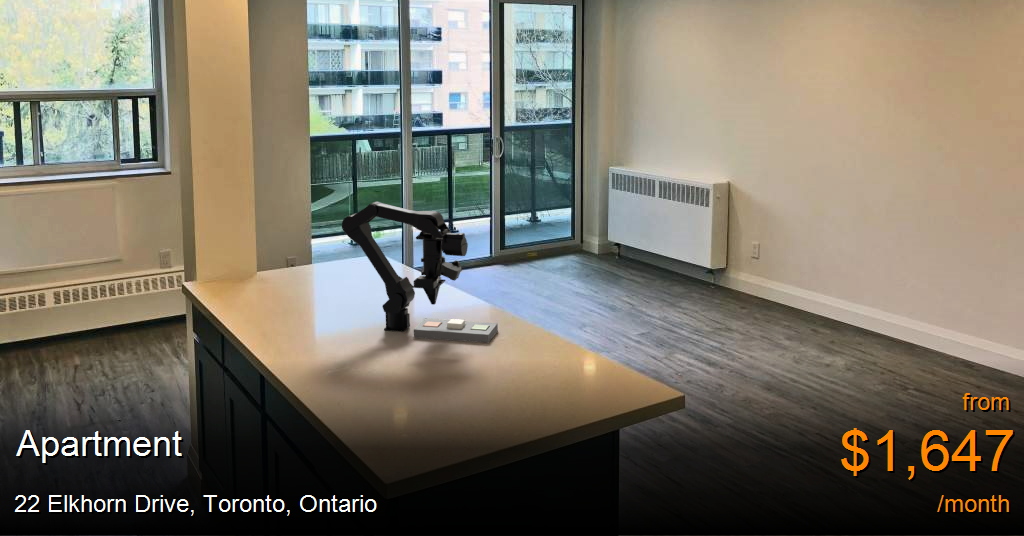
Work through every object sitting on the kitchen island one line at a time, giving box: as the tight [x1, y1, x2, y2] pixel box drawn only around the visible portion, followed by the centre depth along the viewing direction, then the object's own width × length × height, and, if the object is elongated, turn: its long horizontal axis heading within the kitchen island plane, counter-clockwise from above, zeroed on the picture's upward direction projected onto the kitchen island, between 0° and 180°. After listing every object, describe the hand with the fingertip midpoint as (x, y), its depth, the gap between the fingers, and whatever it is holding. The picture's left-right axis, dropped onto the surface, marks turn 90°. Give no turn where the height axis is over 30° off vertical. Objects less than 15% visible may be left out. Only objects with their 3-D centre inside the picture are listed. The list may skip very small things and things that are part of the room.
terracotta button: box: [423, 321, 441, 327], centre depth 288 cm, size 4×4×2 cm
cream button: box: [447, 318, 466, 329], centre depth 286 cm, size 4×4×2 cm
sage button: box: [471, 325, 489, 331], centre depth 285 cm, size 4×4×2 cm
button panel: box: [413, 317, 499, 344], centre depth 286 cm, size 23×12×2 cm, turn 78°
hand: (433, 304), depth 287 cm, fingers closed
